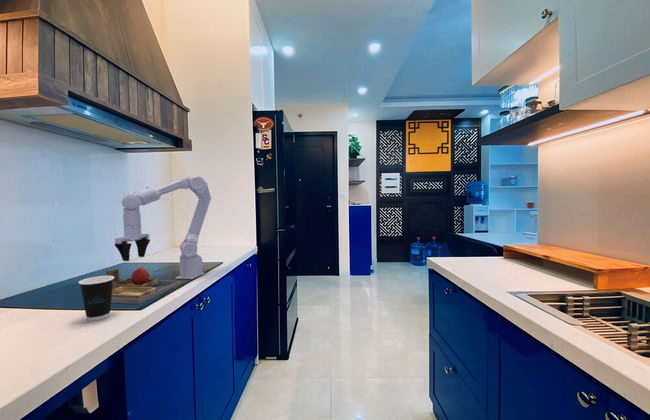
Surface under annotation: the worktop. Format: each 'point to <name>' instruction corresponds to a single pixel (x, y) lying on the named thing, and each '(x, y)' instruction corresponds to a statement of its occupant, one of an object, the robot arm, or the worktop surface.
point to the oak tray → (132, 292)
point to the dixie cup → (97, 296)
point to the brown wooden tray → (139, 300)
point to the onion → (140, 276)
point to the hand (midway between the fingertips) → (134, 258)
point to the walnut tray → (128, 280)
